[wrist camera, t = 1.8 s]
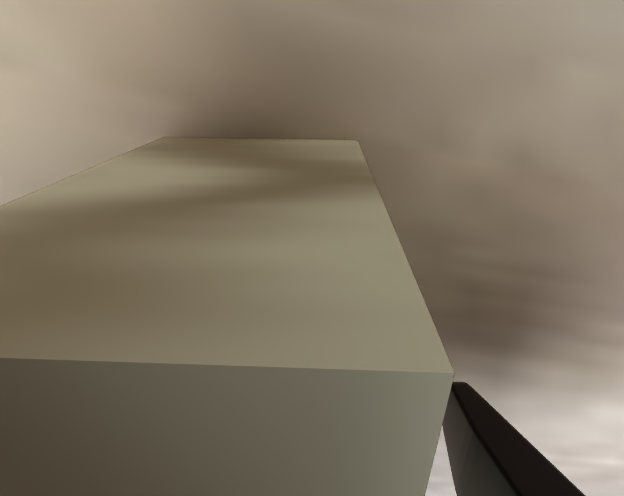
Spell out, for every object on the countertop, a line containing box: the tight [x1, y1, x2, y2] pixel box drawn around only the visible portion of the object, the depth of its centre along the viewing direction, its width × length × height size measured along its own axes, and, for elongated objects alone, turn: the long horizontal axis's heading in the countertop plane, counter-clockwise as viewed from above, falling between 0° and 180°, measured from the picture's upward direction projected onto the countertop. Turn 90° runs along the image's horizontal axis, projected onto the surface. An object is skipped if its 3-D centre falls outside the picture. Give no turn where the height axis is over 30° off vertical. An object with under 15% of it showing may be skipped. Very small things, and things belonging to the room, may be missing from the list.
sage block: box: [0, 137, 455, 496], centre depth 8 cm, size 5×10×8 cm, turn 179°
